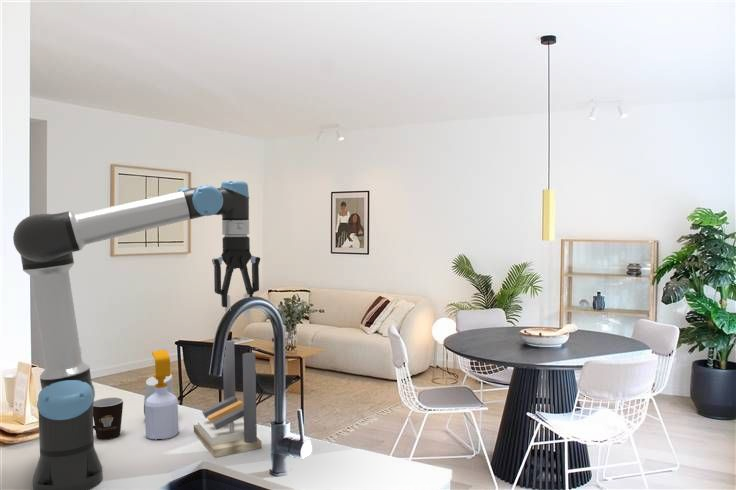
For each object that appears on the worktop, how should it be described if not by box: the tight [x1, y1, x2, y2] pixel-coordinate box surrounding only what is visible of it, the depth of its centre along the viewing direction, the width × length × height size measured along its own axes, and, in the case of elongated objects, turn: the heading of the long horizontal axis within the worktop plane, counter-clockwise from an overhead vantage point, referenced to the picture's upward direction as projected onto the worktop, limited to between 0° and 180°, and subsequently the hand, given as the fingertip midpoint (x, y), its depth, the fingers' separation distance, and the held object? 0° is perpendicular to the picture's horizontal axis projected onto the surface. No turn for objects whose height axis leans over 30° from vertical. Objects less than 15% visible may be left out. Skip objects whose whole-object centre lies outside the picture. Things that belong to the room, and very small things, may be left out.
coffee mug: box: [93, 397, 124, 441], centre depth 178 cm, size 12×9×10 cm
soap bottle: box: [144, 349, 180, 441], centre depth 178 cm, size 9×9×25 cm
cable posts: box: [222, 340, 258, 443], centre depth 176 cm, size 3×22×24 cm, turn 29°
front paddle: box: [212, 407, 244, 430], centre depth 169 cm, size 10×2×2 cm, turn 119°
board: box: [193, 424, 262, 458], centre depth 175 cm, size 13×22×2 cm, turn 29°
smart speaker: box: [143, 373, 175, 416], centre depth 192 cm, size 10×9×14 cm
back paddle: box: [202, 395, 238, 419], centre depth 179 cm, size 10×2×2 cm, turn 119°
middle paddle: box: [206, 400, 244, 424], centre depth 174 cm, size 10×2×2 cm, turn 119°
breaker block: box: [197, 417, 244, 445], centre depth 174 cm, size 12×15×5 cm
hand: (237, 317), depth 175 cm, fingers open, 5 cm apart
